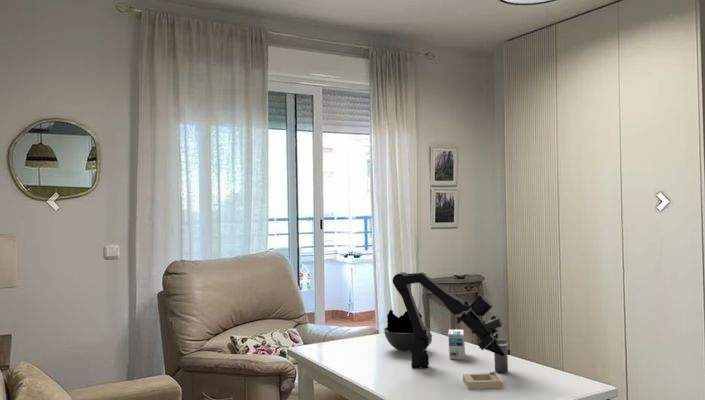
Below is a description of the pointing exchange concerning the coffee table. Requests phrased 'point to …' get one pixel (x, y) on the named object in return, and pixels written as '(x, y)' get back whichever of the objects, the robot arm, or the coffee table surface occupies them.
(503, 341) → the canister
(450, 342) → the light bulb box
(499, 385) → the tan square frame
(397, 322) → the coal bowl
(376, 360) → the coffee table surface
